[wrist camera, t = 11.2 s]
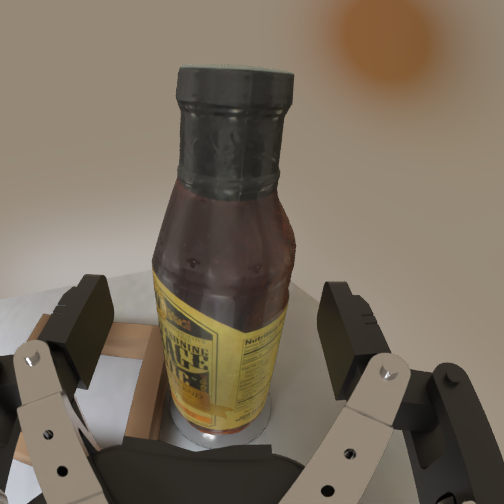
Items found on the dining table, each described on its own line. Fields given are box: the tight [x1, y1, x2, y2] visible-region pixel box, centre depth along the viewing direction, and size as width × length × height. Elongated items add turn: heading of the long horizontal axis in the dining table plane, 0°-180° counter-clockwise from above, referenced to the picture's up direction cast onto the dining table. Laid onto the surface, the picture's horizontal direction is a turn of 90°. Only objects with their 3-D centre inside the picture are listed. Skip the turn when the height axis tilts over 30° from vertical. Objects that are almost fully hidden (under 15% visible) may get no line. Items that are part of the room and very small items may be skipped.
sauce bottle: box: [152, 65, 296, 435], centre depth 15 cm, size 6×6×20 cm
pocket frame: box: [13, 314, 169, 466], centre depth 19 cm, size 12×13×2 cm
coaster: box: [170, 392, 271, 449], centre depth 21 cm, size 7×7×1 cm
